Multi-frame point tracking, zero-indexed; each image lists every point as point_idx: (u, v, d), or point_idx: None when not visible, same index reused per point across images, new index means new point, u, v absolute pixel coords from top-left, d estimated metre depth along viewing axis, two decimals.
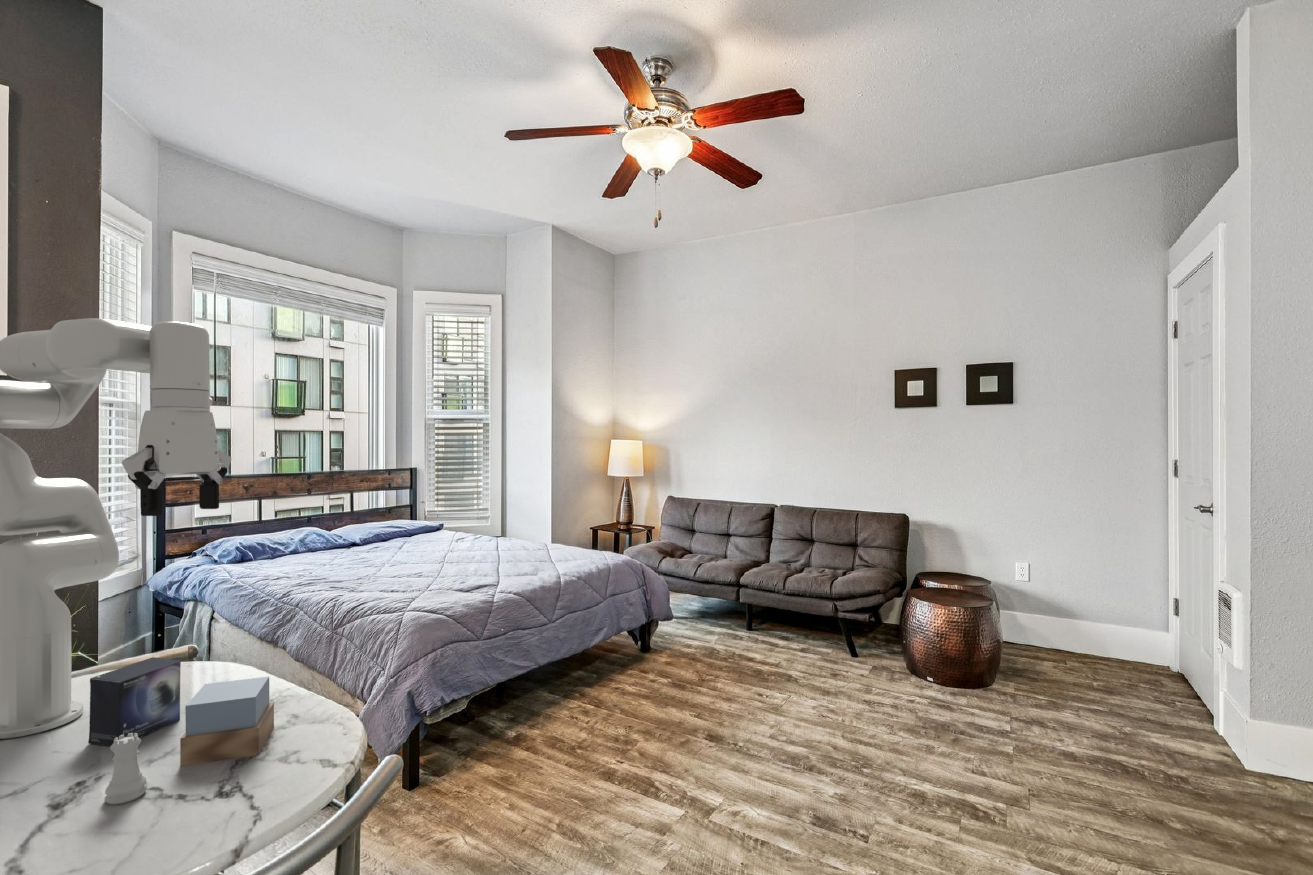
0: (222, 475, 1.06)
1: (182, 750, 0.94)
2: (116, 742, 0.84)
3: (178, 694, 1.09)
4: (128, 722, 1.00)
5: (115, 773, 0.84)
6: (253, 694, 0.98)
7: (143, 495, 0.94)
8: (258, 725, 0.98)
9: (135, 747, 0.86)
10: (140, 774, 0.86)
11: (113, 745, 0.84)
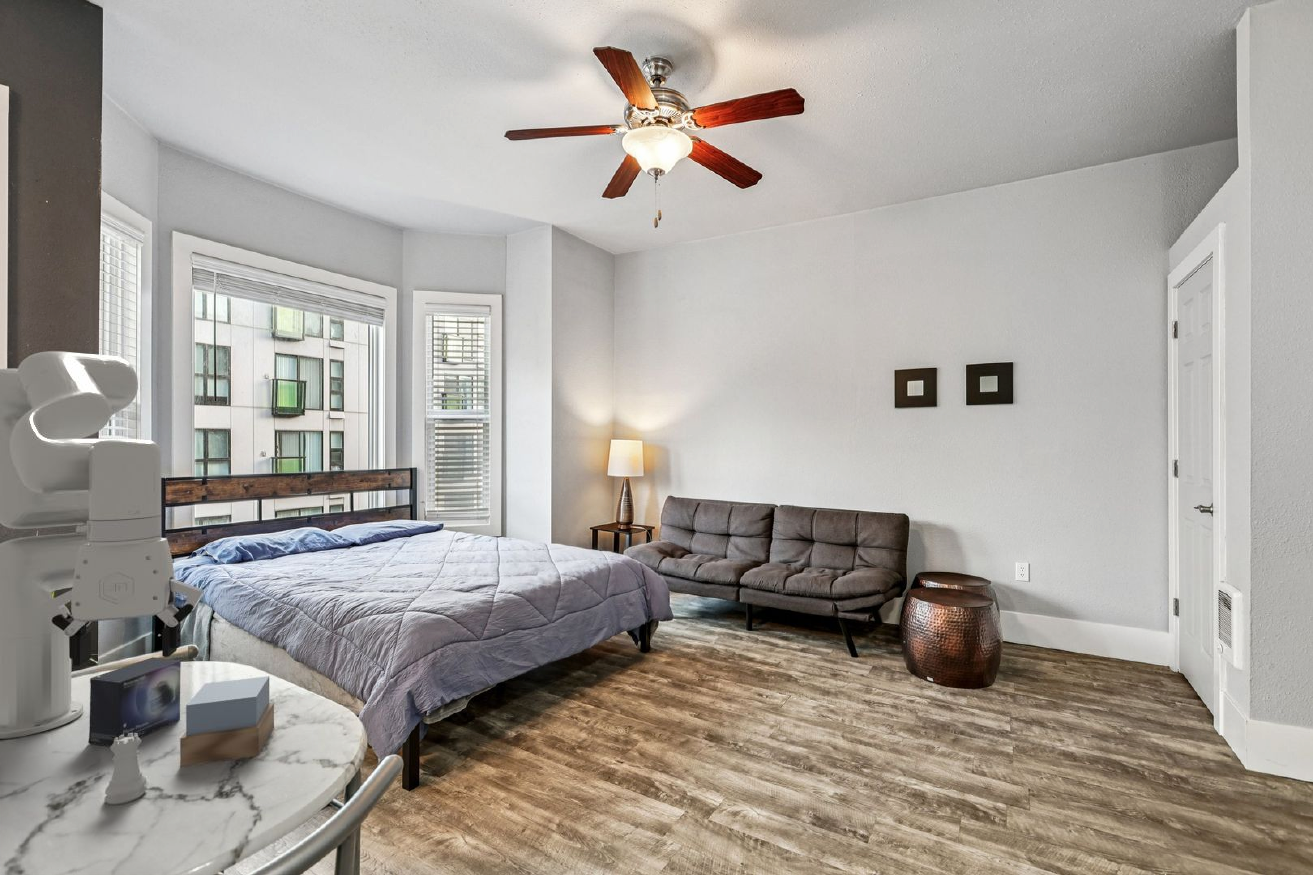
0: None
1: (182, 750, 0.93)
2: (116, 742, 0.84)
3: (178, 694, 1.09)
4: (128, 722, 1.00)
5: (115, 773, 0.84)
6: (254, 693, 0.98)
7: (177, 630, 0.87)
8: (258, 725, 0.97)
9: (135, 747, 0.86)
10: (140, 774, 0.86)
11: (113, 745, 0.84)
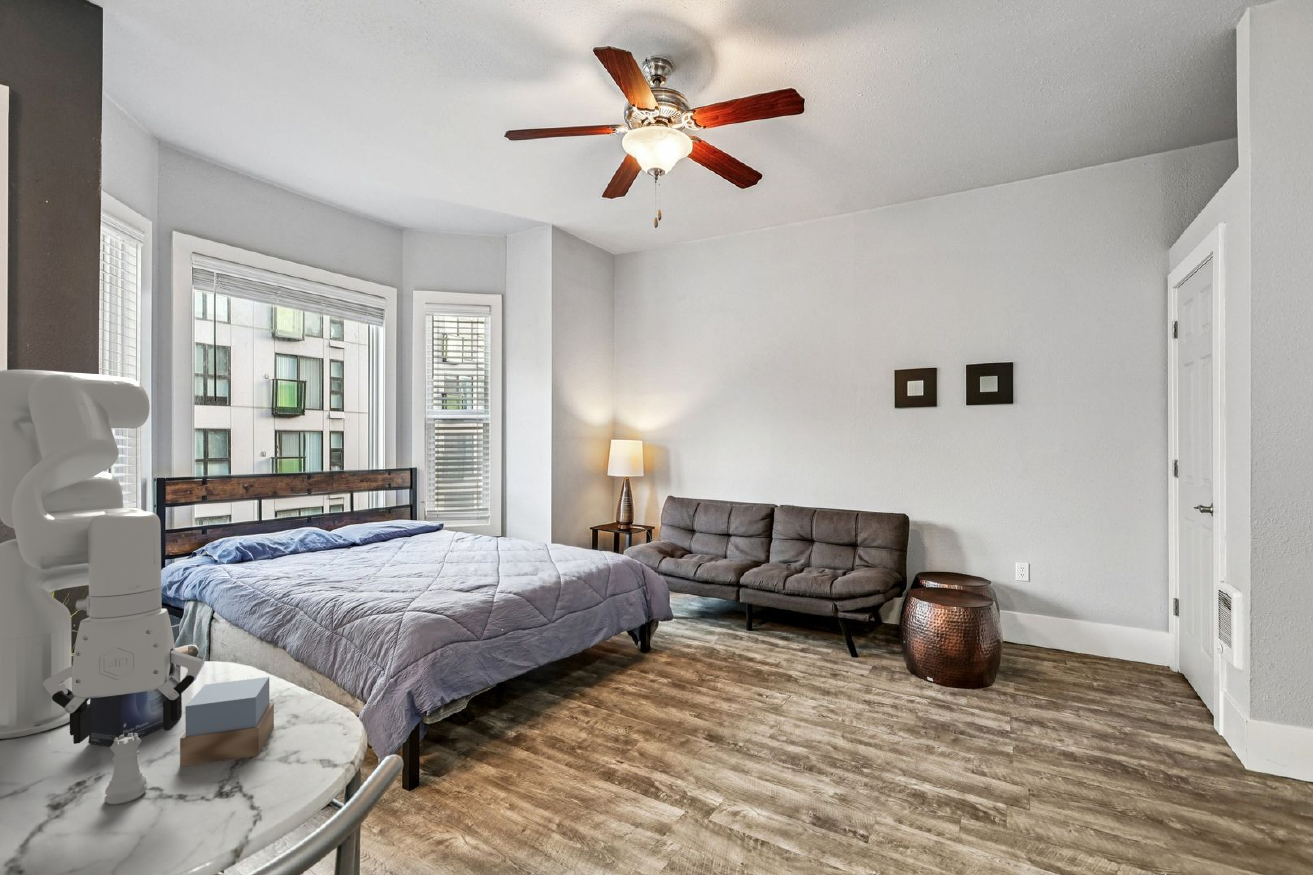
0: None
1: (182, 750, 0.93)
2: (116, 742, 0.84)
3: None
4: (128, 722, 1.00)
5: (115, 773, 0.84)
6: (253, 694, 0.98)
7: (178, 703, 0.87)
8: (258, 725, 0.97)
9: (135, 747, 0.86)
10: (140, 774, 0.86)
11: (113, 745, 0.84)
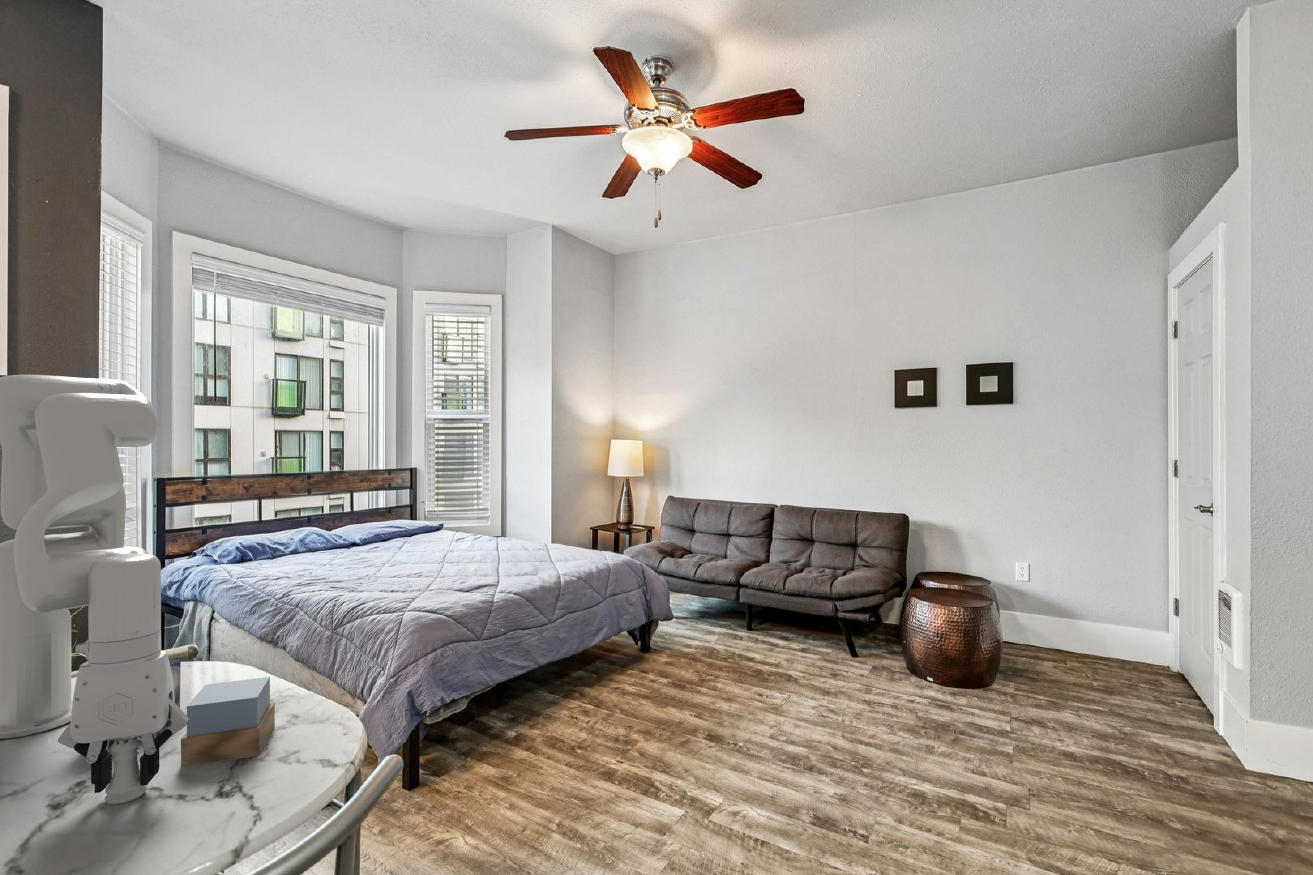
0: None
1: (183, 751, 0.93)
2: (116, 742, 0.84)
3: (178, 694, 1.09)
4: None
5: (115, 773, 0.84)
6: (255, 694, 0.98)
7: (156, 757, 0.86)
8: (259, 726, 0.97)
9: (135, 747, 0.86)
10: None
11: (113, 745, 0.84)
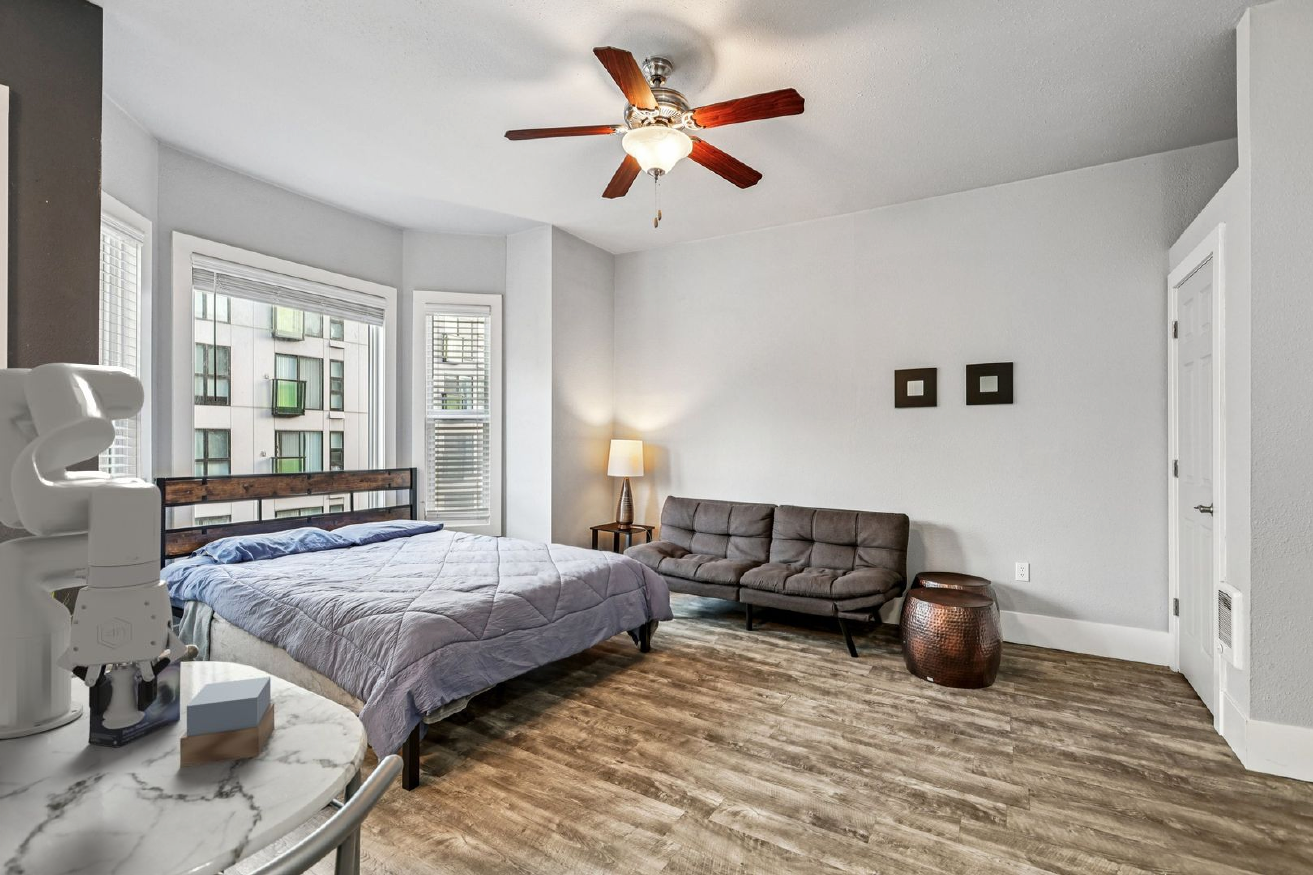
0: None
1: (182, 750, 0.93)
2: (115, 667, 0.85)
3: (178, 694, 1.09)
4: None
5: (113, 698, 0.85)
6: (255, 694, 0.98)
7: (154, 684, 0.87)
8: (258, 725, 0.97)
9: (133, 674, 0.86)
10: None
11: (112, 670, 0.85)
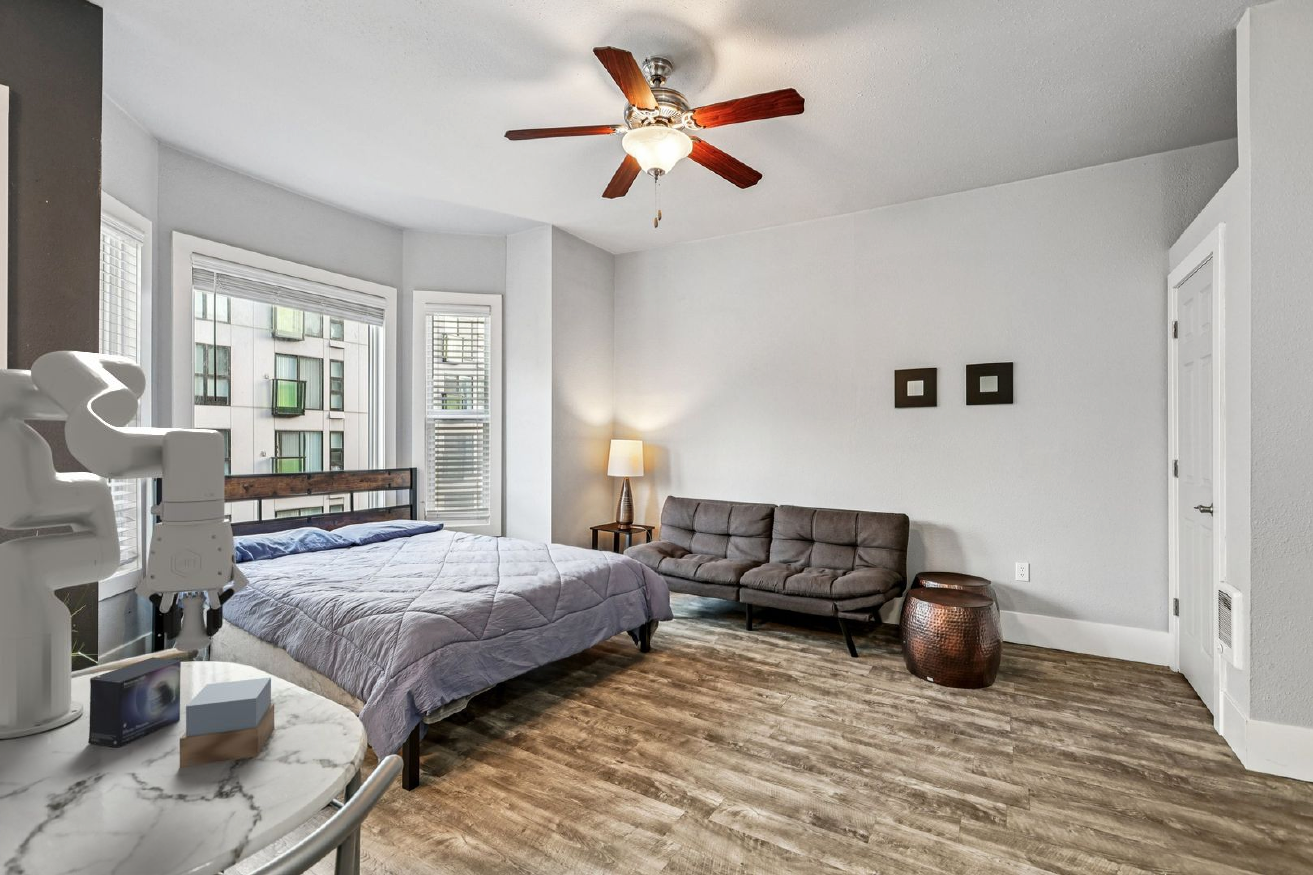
0: None
1: (181, 750, 0.93)
2: (185, 596, 0.93)
3: (178, 694, 1.09)
4: (128, 722, 1.00)
5: (184, 623, 0.93)
6: (254, 695, 0.98)
7: (220, 612, 0.95)
8: (257, 726, 0.97)
9: (202, 603, 0.95)
10: None
11: (183, 598, 0.93)
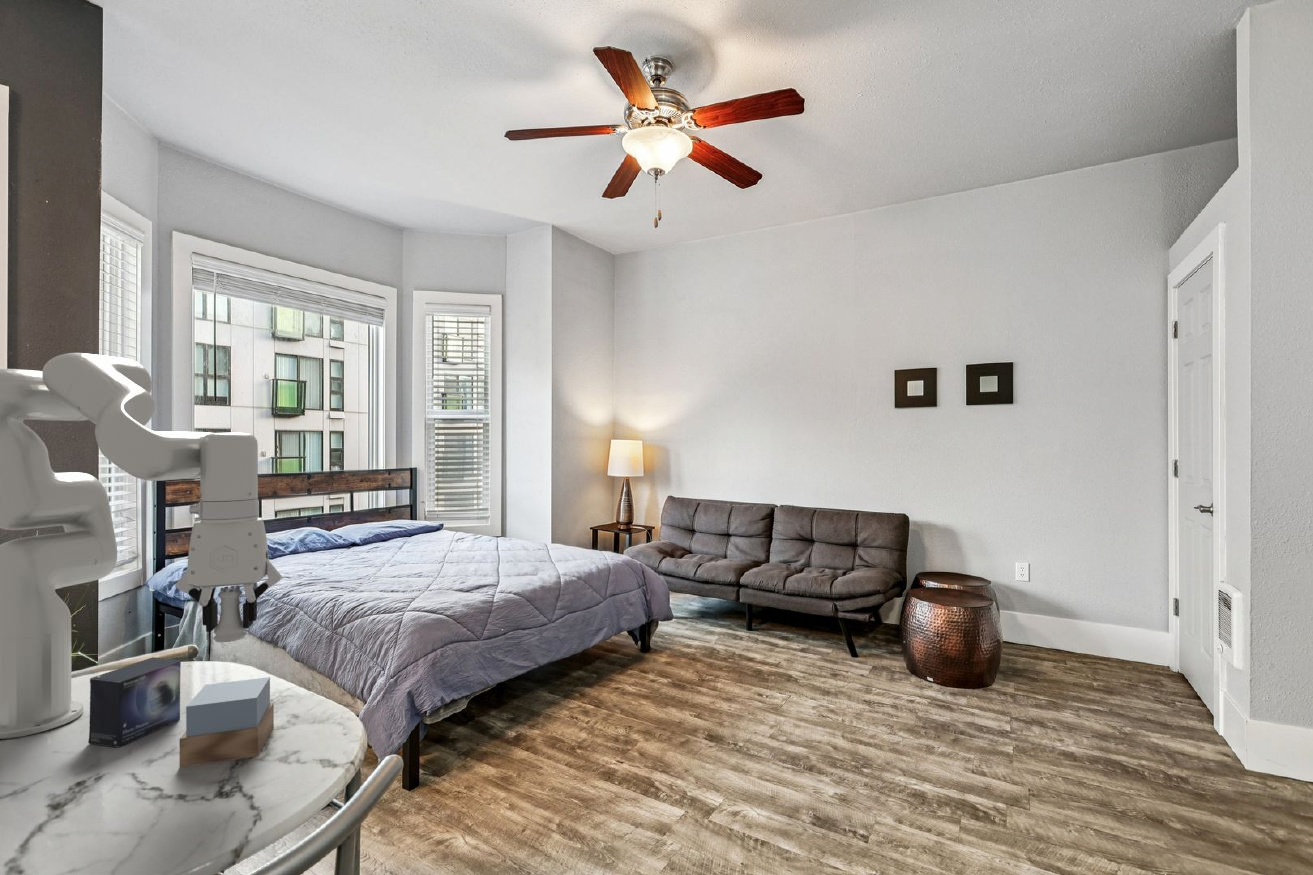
0: None
1: (181, 750, 0.93)
2: (223, 590, 0.99)
3: (178, 694, 1.09)
4: (128, 722, 1.00)
5: (222, 616, 0.99)
6: (254, 694, 0.98)
7: (255, 606, 1.01)
8: None
9: (238, 596, 1.00)
10: (242, 620, 1.01)
11: (220, 593, 0.99)
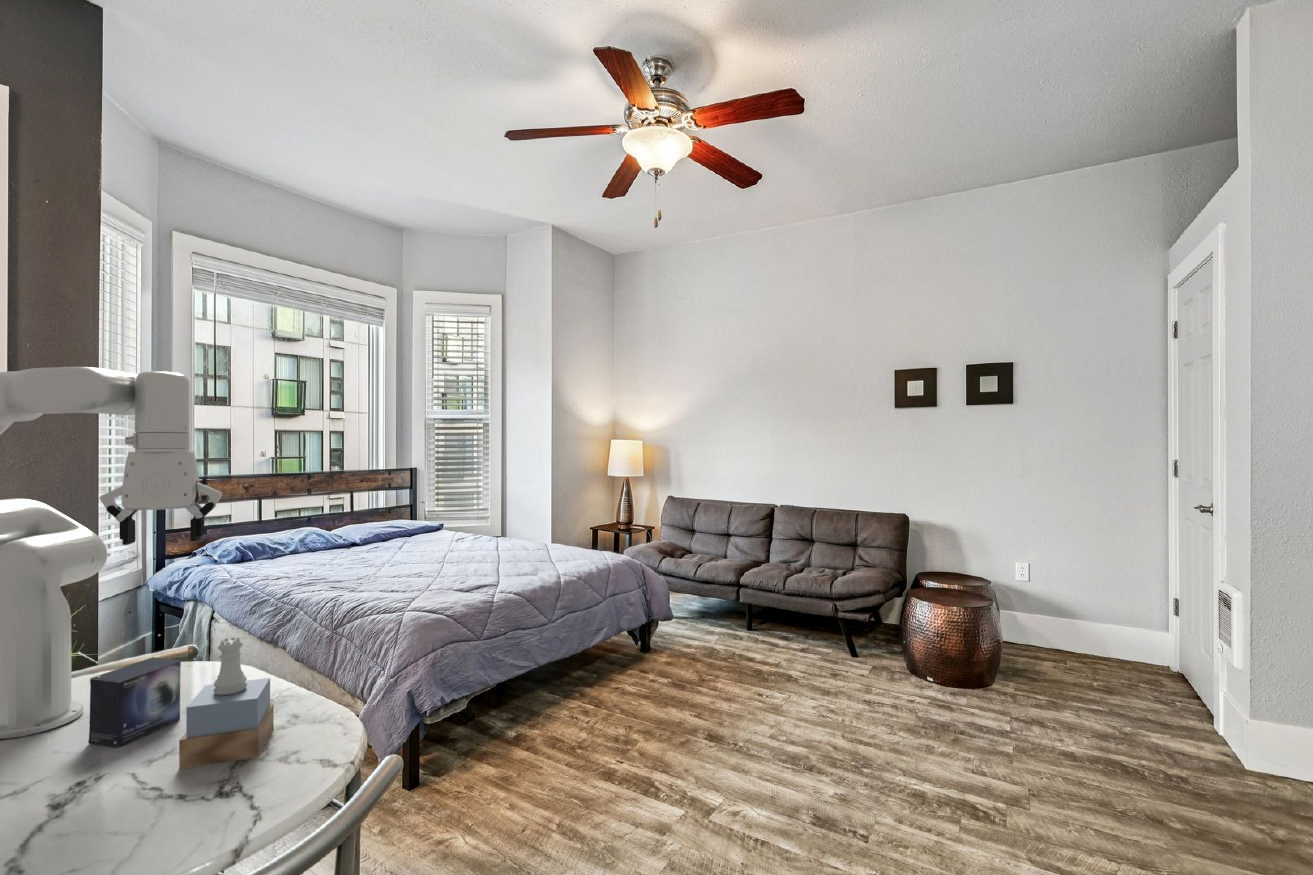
0: None
1: (181, 752, 0.93)
2: (223, 643, 0.98)
3: (178, 694, 1.09)
4: (128, 722, 1.00)
5: (222, 669, 0.98)
6: (255, 695, 0.98)
7: (202, 522, 1.12)
8: (258, 727, 0.97)
9: (238, 649, 0.99)
10: (242, 672, 1.00)
11: (221, 645, 0.98)
